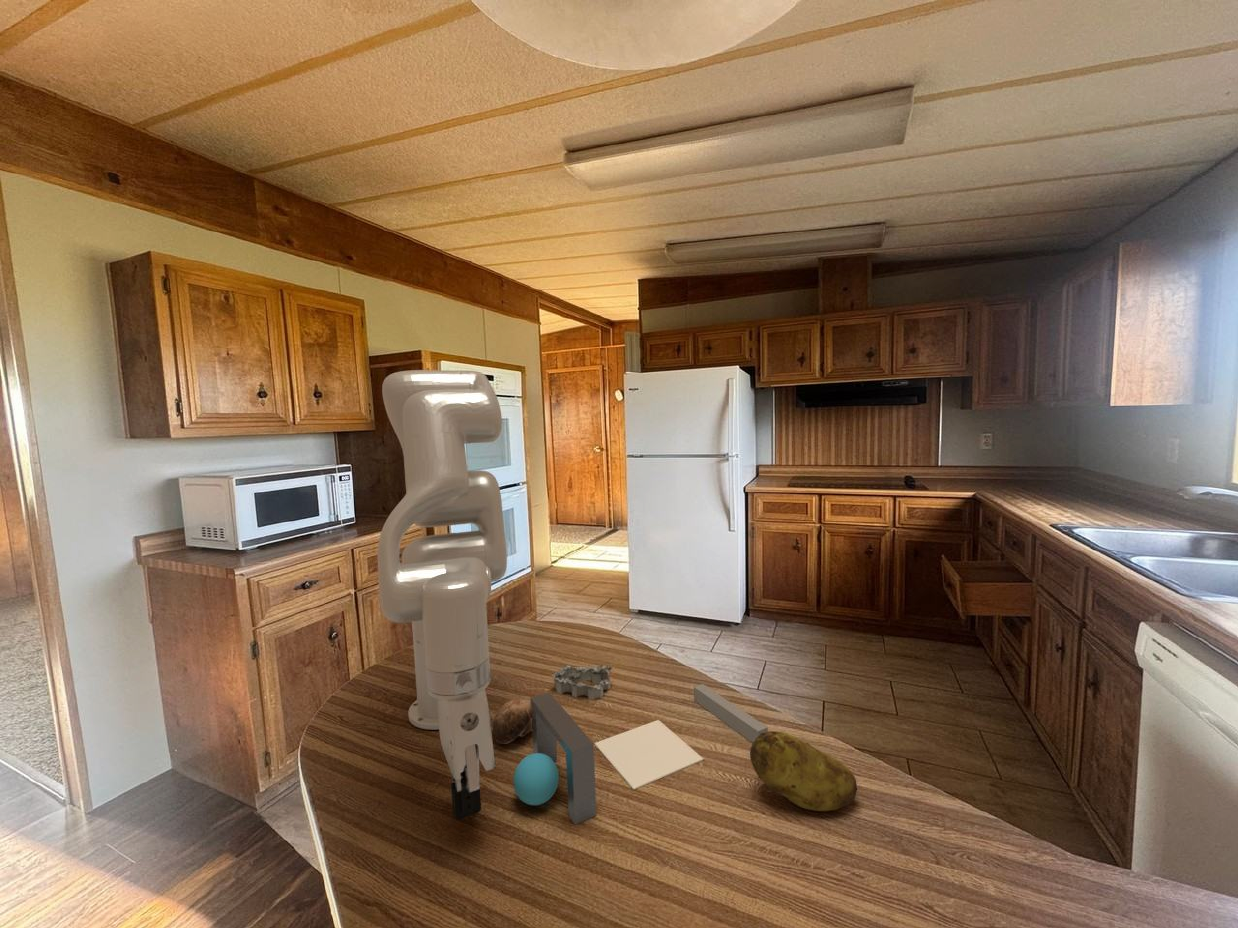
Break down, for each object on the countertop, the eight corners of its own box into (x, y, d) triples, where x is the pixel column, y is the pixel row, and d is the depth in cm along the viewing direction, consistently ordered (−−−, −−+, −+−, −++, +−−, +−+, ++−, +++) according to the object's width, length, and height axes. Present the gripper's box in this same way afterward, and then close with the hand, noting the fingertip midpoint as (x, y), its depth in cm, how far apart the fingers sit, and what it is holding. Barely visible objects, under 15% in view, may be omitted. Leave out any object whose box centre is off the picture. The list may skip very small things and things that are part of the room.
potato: (849, 839, 62) (849, 775, 62) (744, 800, 69) (743, 743, 68) (859, 795, 69) (859, 738, 69) (762, 764, 76) (762, 712, 75)
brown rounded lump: (554, 708, 87) (530, 683, 86) (534, 752, 80) (507, 725, 79) (524, 718, 91) (500, 694, 90) (502, 761, 84) (476, 736, 83)
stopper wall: (694, 700, 94) (693, 686, 94) (703, 696, 95) (702, 683, 95) (758, 746, 80) (758, 731, 80) (767, 742, 81) (767, 727, 81)
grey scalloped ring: (615, 686, 101) (614, 666, 100) (596, 705, 94) (596, 683, 94) (569, 675, 105) (568, 656, 105) (548, 692, 99) (548, 672, 99)
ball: (559, 752, 75) (539, 794, 73) (522, 739, 73) (501, 782, 71) (572, 774, 69) (550, 820, 68) (533, 760, 67) (510, 808, 66)
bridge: (574, 824, 66) (571, 751, 65) (533, 759, 79) (530, 697, 78) (596, 815, 67) (593, 743, 67) (552, 753, 80) (549, 692, 80)
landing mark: (594, 744, 82) (594, 743, 82) (658, 720, 88) (658, 719, 88) (633, 789, 72) (633, 788, 72) (703, 759, 78) (703, 758, 78)
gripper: (506, 690, 60) (514, 839, 62) (474, 644, 74) (481, 768, 75) (438, 710, 57) (448, 867, 58) (417, 657, 70) (426, 788, 71)
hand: (467, 811), depth 67 cm, fingers closed
